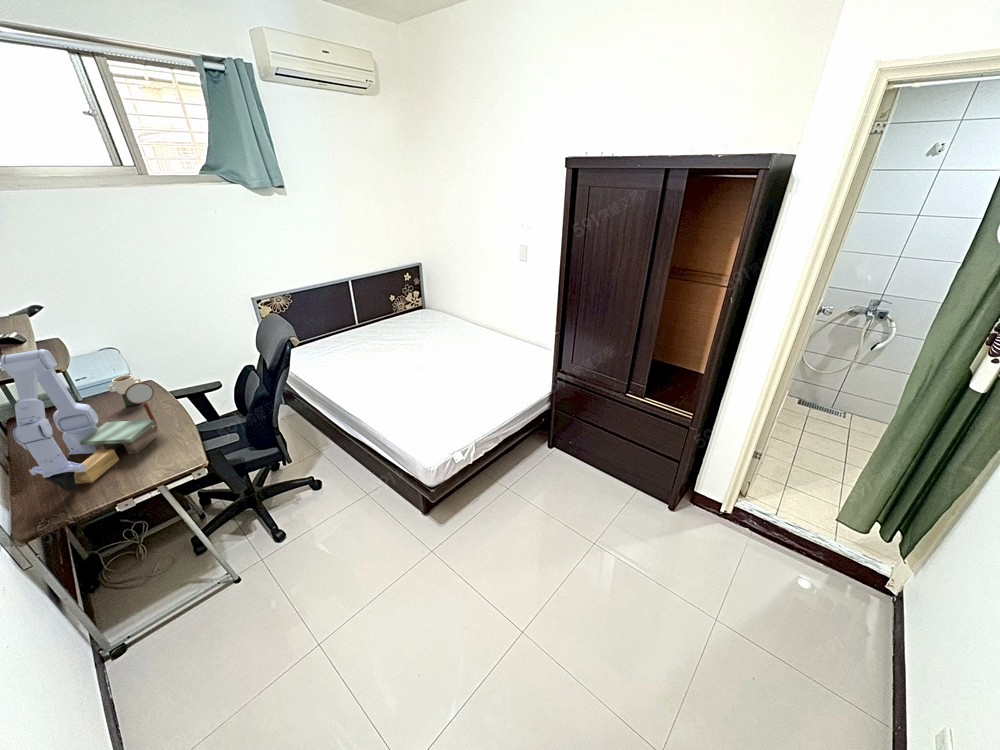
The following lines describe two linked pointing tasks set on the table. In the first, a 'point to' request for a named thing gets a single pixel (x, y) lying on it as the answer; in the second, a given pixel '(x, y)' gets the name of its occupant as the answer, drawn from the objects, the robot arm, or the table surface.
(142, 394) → the magnifying glass
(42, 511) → the table surface
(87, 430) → the robot arm
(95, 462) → the peg
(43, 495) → the table surface
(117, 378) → the character mug
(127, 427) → the socket shed
